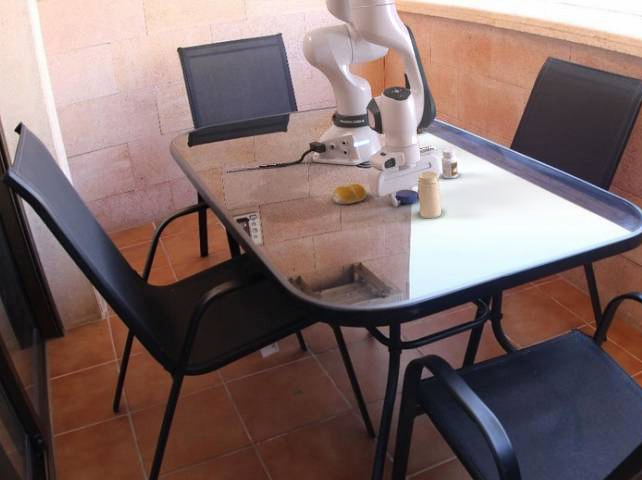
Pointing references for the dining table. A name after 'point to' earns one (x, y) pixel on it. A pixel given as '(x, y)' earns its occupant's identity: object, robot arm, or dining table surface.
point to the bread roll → (349, 194)
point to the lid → (406, 196)
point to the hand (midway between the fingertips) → (407, 202)
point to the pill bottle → (449, 164)
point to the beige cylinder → (429, 195)
